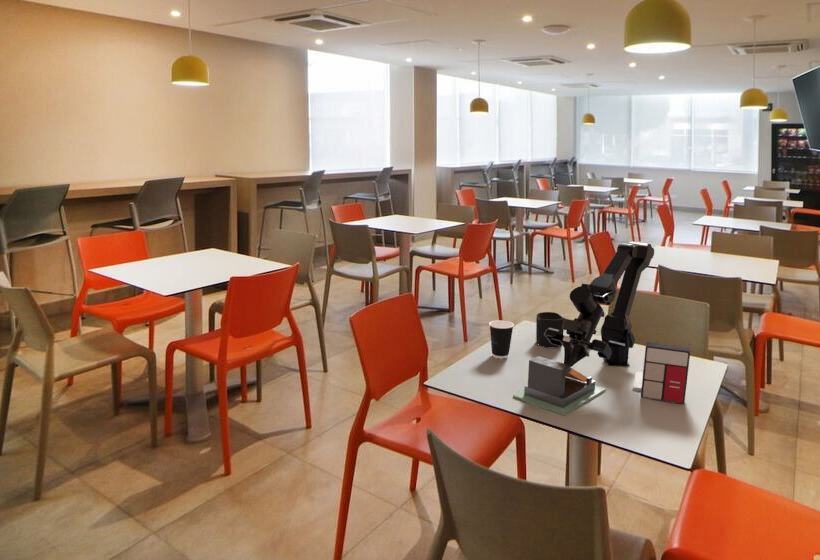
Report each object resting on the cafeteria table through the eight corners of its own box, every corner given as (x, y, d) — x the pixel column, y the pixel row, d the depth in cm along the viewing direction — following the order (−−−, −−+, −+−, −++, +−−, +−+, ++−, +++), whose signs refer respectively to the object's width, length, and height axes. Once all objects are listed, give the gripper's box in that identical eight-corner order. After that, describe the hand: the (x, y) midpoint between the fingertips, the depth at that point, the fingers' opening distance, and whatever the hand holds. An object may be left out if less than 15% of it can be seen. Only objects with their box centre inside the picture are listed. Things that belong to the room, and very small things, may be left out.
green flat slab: (555, 375, 184) (555, 373, 184) (605, 390, 173) (605, 388, 173) (512, 397, 169) (513, 395, 169) (564, 415, 158) (564, 413, 158)
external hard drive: (664, 380, 182) (663, 396, 171) (634, 376, 185) (632, 392, 174) (664, 375, 182) (664, 391, 171) (635, 371, 185) (632, 386, 174)
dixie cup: (516, 354, 201) (517, 322, 199) (507, 362, 194) (509, 329, 192) (493, 350, 205) (494, 318, 202) (484, 357, 198) (485, 325, 196)
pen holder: (565, 341, 214) (567, 314, 211) (559, 350, 206) (561, 321, 203) (538, 337, 218) (540, 310, 215) (532, 346, 209) (533, 317, 207)
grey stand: (557, 377, 181) (559, 344, 178) (594, 389, 173) (597, 354, 170) (524, 394, 169) (525, 359, 167) (562, 408, 161) (565, 371, 158)
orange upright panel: (556, 368, 178) (539, 358, 170) (588, 378, 171) (572, 368, 163) (555, 373, 178) (538, 363, 170) (586, 383, 171) (570, 373, 163)
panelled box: (640, 398, 168) (645, 346, 165) (641, 392, 172) (646, 341, 169) (684, 405, 164) (690, 352, 161) (684, 399, 168) (690, 347, 164)
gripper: (548, 300, 177) (525, 347, 172) (609, 314, 164) (586, 364, 159) (562, 320, 184) (540, 365, 179) (621, 334, 171) (599, 383, 167)
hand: (565, 369), depth 171 cm, fingers closed, pressing on orange upright panel
